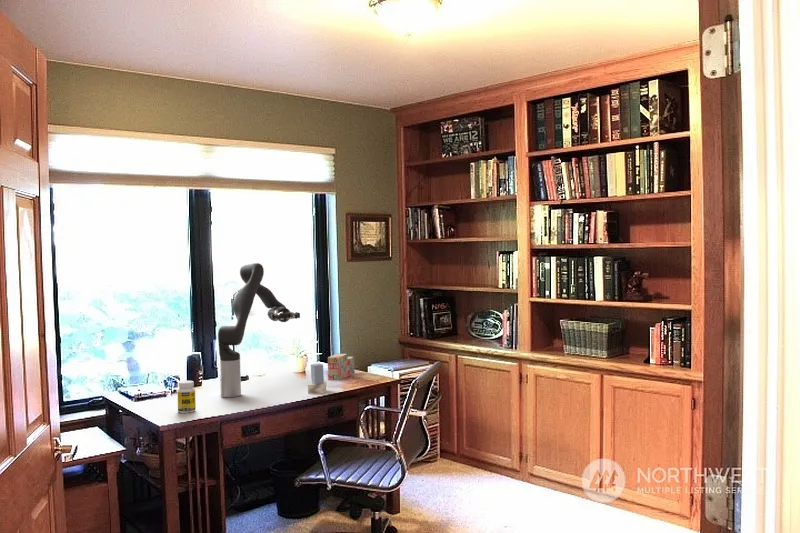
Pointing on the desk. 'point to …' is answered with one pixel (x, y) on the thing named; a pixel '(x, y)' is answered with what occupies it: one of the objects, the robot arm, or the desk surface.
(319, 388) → the cream base block
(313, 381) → the slate block
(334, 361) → the stack of blocks
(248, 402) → the desk surface
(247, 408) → the desk surface
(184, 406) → the supplement bottle
